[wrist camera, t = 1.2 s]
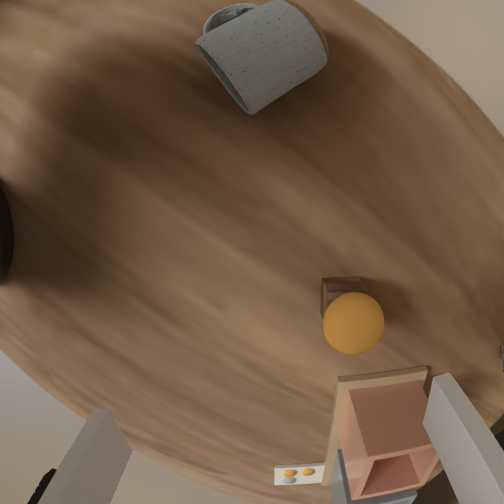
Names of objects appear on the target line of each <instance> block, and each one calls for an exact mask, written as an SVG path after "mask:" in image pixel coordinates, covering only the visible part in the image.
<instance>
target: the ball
mask: <svg viewBox="0 0 504 504" xmlns="http://www.w3.org/2000/svg"><path fill="white" fill-rule="evenodd" d="M383 329H384V316H383V312H382V309H381V307H380V306H379V304H378V303H377V302H376V301H375V300H374V299H373V298H372V297H370V296H368V295H366V294H363V293H359V292H350V293H346V294H343V295H341V296H339V297H337V298H336V299H335V300H333V301H332V302H331V304H330V305H329V306H328V308H327V310H326V312H325V314H324V318H323V330H324V334H325V337H326V339H327V341H328V342H329V343H330V345H331V346H332V347H334V348H335V349H336V350H338V351H340V352H342V353H346V354H359V353H363V352H365V351H367V350H369V349H371V348H372V347H373V346H374V345H375V344H376V343H377V342H378V340H379V339H380V337H381V335H382V332H383Z"/></svg>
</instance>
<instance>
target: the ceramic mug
mask: <svg viewBox="0 0 504 504" xmlns="http://www.w3.org/2000/svg"><path fill="white" fill-rule="evenodd" d="M235 17H236V18H235ZM233 18H234V19H233ZM231 19H232V20H231ZM229 20H230V21H229ZM227 21H228V22H227ZM225 22H226V23H225ZM223 23H224V24H223ZM221 24H222V25H221ZM220 25H221V26H220ZM218 26H219V27H218ZM195 44H196V46H197V48H198V50H199V52H200V53H201V54H202V56H203V58H204V59H205V60H206V62H207V63H208V65H209V66H210V68H211V69H212V71H213V72H214V73H215V75H216V76H217V77H218V79H219V80H220V81H221V82H222V84H223V85H224V87H225V88H226V89H227V91H228V92H229V93H230V94H231V96H232V97H233V98H234V99H235V101H236V102H237V103H238V104H239V105H240V106H241V108H242V109H243V110H244V111H245V112H246V113H248V114H250V115H254V114H255V113H257V112H258V111H260V110H261V109H262V108H264V107H265V106H267V105H268V104H270V103H271V102H273V101H274V100H276V99H277V98H279V97H280V96H282V95H283V94H285V93H287V92H288V91H289V90H291V89H292V88H294V87H295V86H297V85H299V84H300V83H302V82H304V81H305V80H307V79H309V78H310V77H312V76H313V75H315V74H316V73H317V72H318V71H319V70H321V69H322V68H323V67H324V66H325V65H326V64H327V62H328V58H329V49H328V43H327V40H326V38H325V36H324V34H323V32H322V30H321V28H320V26H319V25H318V24H317V22H316V21H315V19H314V18H313V17H312V16H311V15H310V14H309V13H308V12H307V11H306V10H305V9H304V8H303V7H301V6H300V5H298V4H296V3H295V2H292V1H290V0H274V1H270V2H267V3H265V4H262V5H260V6H259V5H256V4H252V3H240V4H234V5H231V6H228V7H225V8H223V9H221V10H219V11H217V12H216V13H214V14H213V15H212V16H210V17H209V18H208V19H207V21H206V22H205V24H204V27H203V36H201V37H199V38H198V39H197V40H196V41H195Z"/></svg>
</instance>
